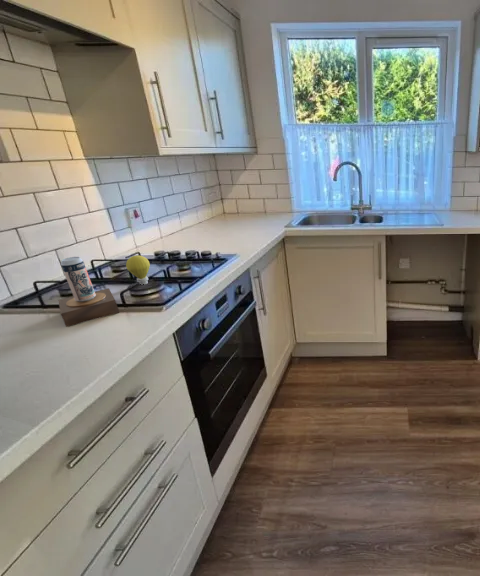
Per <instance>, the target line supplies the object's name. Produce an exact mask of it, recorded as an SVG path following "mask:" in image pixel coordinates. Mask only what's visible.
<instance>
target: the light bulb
mask: <svg viewBox="0 0 480 576" xmlns="http://www.w3.org/2000/svg"><path fill="white" fill-rule="evenodd" d="M150 266H151V263H150V261H149V259H148V258H147V257H145V256H143V255H139V254H138V255H133V256H131V257H129V258H128V259H127V260H126V262H125V267H126V269H127V271H128V272H129V273H130V274H131V275H133V276H134V277H136V282H137V283H139V285H140V284H141V285H140V286H144V285H147V284H148V281H149V277H148V276H147V275H148V273H149V270H150ZM143 284H144V285H143Z"/></svg>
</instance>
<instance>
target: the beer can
mask: <svg viewBox="0 0 480 576" xmlns="http://www.w3.org/2000/svg"><path fill="white" fill-rule="evenodd" d="M60 266H61V268H62V271H63V273H64V276H65V279H66V281H67V283H68V286H69V289H70V291H71V294H72V297H74V299H75V301H79V302H84V301H88V300H91V299H93V298H94V297H95V296H96V294H95V289H94V286H93V283H92V280H91V278H90V275H89V272H88V270H87V268H86V267H87V266H86V265H85V262H84V260H83V259H82V258H81V257H80V256H70V257H66V258H63V259H62V260H61V262H60Z"/></svg>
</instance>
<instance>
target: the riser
mask: <svg viewBox="0 0 480 576" xmlns="http://www.w3.org/2000/svg"><path fill="white" fill-rule="evenodd" d="M94 291H95V290H94ZM95 294H96V296H95V297H94V298H93V299H91V300H88V301H84V302H79V301H75V299H74V296H69V297H65V298H62V299H58V307H59V311H60V312H59V313H60V316H61V318H62V321H63V323H64V325H65V327H66V328H67V327H71V326H75V325H78V324H79V325H80V324H83V323H85V322H88V321H89V322H90V321H93V320H97V319H100V318H105V317H109V316H111V315H116V314H119V313H120V309H119V307H118V304H117V301H116V299H115V296H114V295H113V293H112V291H111V289H110V288H104V289H100V290H96V291H95Z"/></svg>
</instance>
